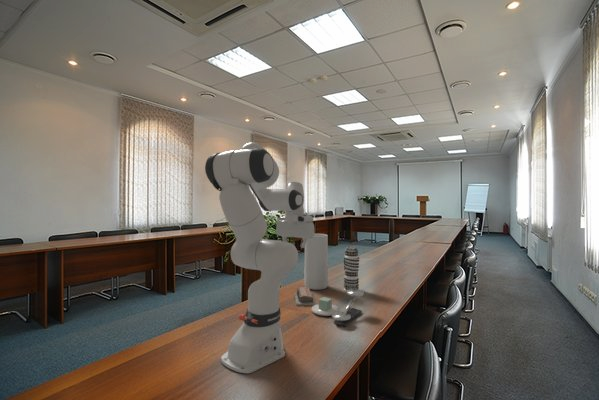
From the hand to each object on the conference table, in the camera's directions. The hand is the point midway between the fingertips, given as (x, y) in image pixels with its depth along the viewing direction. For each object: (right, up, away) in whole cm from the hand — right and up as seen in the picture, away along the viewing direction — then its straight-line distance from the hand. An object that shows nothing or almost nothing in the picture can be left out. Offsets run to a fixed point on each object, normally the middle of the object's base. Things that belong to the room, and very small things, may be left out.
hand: (294, 246), depth 135 cm
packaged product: (+5, -32, +19) cm, 37 cm away
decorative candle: (+33, -31, +34) cm, 57 cm away
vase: (+12, -31, +40) cm, 52 cm away
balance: (+24, -31, -5) cm, 40 cm away
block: (+15, -30, +2) cm, 33 cm away
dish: (+15, -31, +2) cm, 34 cm away
